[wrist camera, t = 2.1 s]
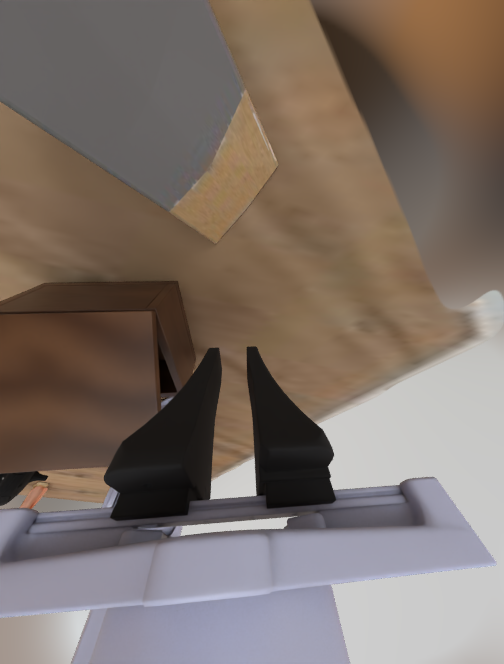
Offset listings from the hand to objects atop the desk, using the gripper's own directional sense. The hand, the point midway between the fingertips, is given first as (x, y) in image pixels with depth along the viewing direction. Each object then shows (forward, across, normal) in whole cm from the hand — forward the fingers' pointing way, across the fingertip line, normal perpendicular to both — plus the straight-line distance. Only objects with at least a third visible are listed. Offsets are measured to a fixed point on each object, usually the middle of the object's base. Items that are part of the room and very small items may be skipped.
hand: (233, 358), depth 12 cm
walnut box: (+10, +13, +4) cm, 17 cm away
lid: (+1, +13, +4) cm, 14 cm away
